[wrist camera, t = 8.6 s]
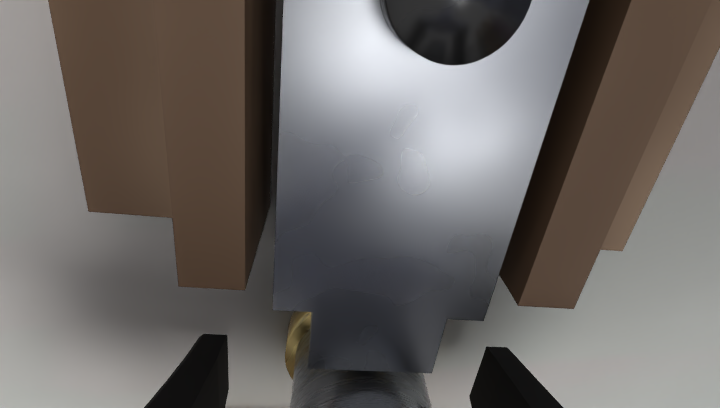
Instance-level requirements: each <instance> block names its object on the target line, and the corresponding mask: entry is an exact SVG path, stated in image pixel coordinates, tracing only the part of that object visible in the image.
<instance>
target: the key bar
mask: <svg viewBox="0 0 720 408" xmlns="http://www.w3.org/2000/svg"><path fill="white" fill-rule="evenodd" d="M588 3H589V0H284V4H283V32H282V60H281V88H280V116H279V143H278V171H277V199H276V227H275V255H274V283H273V310H283V311H302V312H311V323H310V338H309V354H308V369H329V370H357V371H384V372H411V373H432V371H433V367H434V364H435V360H436V356H437V353H438V349H439V346H440V342H441V338H442V335H443V331H444V328H445V324H446V320H447V319H456V320H476V321H484V318H485V315H486V312H487V309H488V306H489V303H490V300H491V297H492V294H493V291H494V288H495V285H496V282H497V279H498V276H499V272H500V269H501V266H502V263H503V260H504V257H505V254H506V251H507V248H508V245H509V242H510V239H511V236H512V233H513V230H514V227H515V224H516V221H517V218H518V215H519V212H520V209H521V206H522V203H523V200H524V197H525V194H526V191H527V188H528V185H529V182H530V179H531V176H532V173H533V170H534V167H535V164H536V161H537V157H538V154H539V151H540V148H541V145H542V142H543V139H544V136H545V133H546V130H547V127H548V124H549V121H550V118H551V115H552V112H553V109H554V106H555V103H556V100H557V97H558V94H559V91H560V88H561V85H562V82H563V79H564V76H565V73H566V70H567V67H568V64H569V61H570V58H571V55H572V52H573V49H574V46H575V42H576V39H577V36H578V33H579V30H580V27H581V24H582V21H583V18H584V15H585V12H586V9H587V6H588Z"/></svg>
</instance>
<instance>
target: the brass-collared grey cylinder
mask: <svg viewBox="0 0 720 408" xmlns="http://www.w3.org/2000/svg"><path fill="white" fill-rule="evenodd" d="M310 323H311V312H302V311H294V313H293V315H292V317H291V319H290V323H289V328H288V336H287V344H286V352H285V362H286V367H287V370H288V372H289V374H290V376H291V378H292V379H293V386H292V396H291V406H290V408H431V404H430V399H429V395H428V391H427V387H426V383H425V379H424V375H423V373H411V372H384V371H357V370H329V369H308V354H309V338H310Z"/></svg>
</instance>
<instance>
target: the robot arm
mask: <svg viewBox="0 0 720 408" xmlns="http://www.w3.org/2000/svg"><path fill="white" fill-rule="evenodd" d="M228 390H229V382H228V346H227V335H215V334H203V335H202V336H200V337H199V338H198V340H197V341H196V343H195V344H194V346H193V347H192V348H191V350H190V351H189V353H188V354H187V355H186V357H185V358H184V359H183V361H182V362H181V363H180V365H179V366H178V367H177V368H176V370H175V371H174V372H173V373H172V375H171V376H170V377H169V379H168V380H167V381H166V382H165V383H164V385H163V386H162V387H161V388H160V389H159V391H158V392H157V393H156V394H155V395H154V397H153V398H152V399H151V400H150V401H149V403H148V404H147V405H146V406H145V407H144V408H225V404H226V399H227V395H228ZM470 401H471V406H472V408H563V407H562V406H561V405H560V404H559V403H558V402H557V400H556V399H555V398H554V397H553V396H552V395H551V394H550V393H549V392H548V391H547V390H546V389H545V388H544V387H543V386H542V384H541V383H540V382H539V381H538V380H537V379H536V378H535V377H534V376H533V375H532V374H531V373H530V371H529V370H528V369H527V368H526V367H525V366H524V365H523V364H522V363H521V362H520V361H519V360H518V358H517V357H516V356H515V355H514V354H513V353H512V352H511V351H510V350H509V349H508V348H506V347H486V350H485V353H484V356H483V359H482V362H481V364H480V367H479V370H478V373H477V376H476V379H475V382H474V385H473V387H472V390H471V393H470Z"/></svg>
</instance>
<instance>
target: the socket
mask: <svg viewBox="0 0 720 408" xmlns="http://www.w3.org/2000/svg"><path fill="white" fill-rule="evenodd" d="M48 2H49V7H50V12H51V18H52V23H53V28H54V33H55V39H56V44H57V49H58V54H59V60H60V65H61V70H62V75H63V80H64V86H65V91H66V96H67V101H68V107H69V112H70V117H71V122H72V128H73V133H74V138H75V143H76V149H77V154H78V159H79V164H80V169H81V175H82V180H83V185H84V190H85V196H86V201H87V206H88V211H89V212H101V213H115V214H128V215H141V216H155V217H168V218H172V220H173V231H174V242H175V253H176V264H177V275H178V286H179V287H196V288H214V289H231V290H245V289H246V285H247V282H248V279H249V275H250V272H251V268H252V265H253V262H254V258H255V255H256V251H257V248H258V245H259V241H260V238H261V235H262V231H263V228H264V224H265V221H266V218H267V214H268V211H269V207H270V186H271V151H272V115H273V80H274V44H275V9H276V0H48ZM719 48H720V0H589V3H588V6H587V9H586V12H585V15H584V18H583V21H582V24H581V27H580V30H579V33H578V36H577V39H576V42H575V46H574V49H573V52H572V55H571V58H570V61H569V64H568V67H567V70H566V73H565V76H564V79H563V82H562V85H561V88H560V91H559V94H558V97H557V100H556V103H555V106H554V109H553V112H552V115H551V118H550V121H549V124H548V127H547V130H546V133H545V136H544V139H543V142H542V145H541V148H540V151H539V154H538V157H537V161H536V164H535V167H534V170H533V173H532V176H531V179H530V182H529V185H528V188H527V191H526V194H525V197H524V200H523V203H522V206H521V209H520V212H519V215H518V218H517V221H516V224H515V227H514V230H513V233H512V236H511V239H510V242H509V245H508V248H507V251H506V254H505V257H504V260H503V263H502V266H501V269H500V272H499V275H500V277H501V278H502V280H503V282H504V283H505V285H506V286H507V288H508V290H509V291H510V293H511V295H512V296H513V298H514V300H515V301H516V303H517V305H518V306H532V307H549V308H567V309H574V307H575V305H576V303H577V300H578V298H579V296H580V294H581V291H582V289H583V287H584V285H585V283H586V280H587V278H588V276H589V274H590V271H591V269H592V267H593V265H594V263H595V260H596V258H597V256H598V254H599V251H600V250H614V251H623V249H624V247H625V245H626V242H627V240H628V238H629V236H630V234H631V232H632V230H633V228H634V226H635V224H636V222H637V219H638V217H639V215H640V213H641V211H642V209H643V207H644V205H645V203H646V201H647V199H648V196H649V194H650V192H651V190H652V188H653V186H654V184H655V182H656V180H657V178H658V175H659V173H660V171H661V169H662V167H663V165H664V163H665V161H666V159H667V157H668V155H669V152H670V150H671V148H672V146H673V144H674V142H675V140H676V138H677V136H678V134H679V132H680V129H681V127H682V125H683V123H684V121H685V119H686V117H687V115H688V113H689V111H690V108H691V106H692V104H693V102H694V100H695V98H696V96H697V94H698V92H699V90H700V88H701V85H702V83H703V81H704V79H705V77H706V75H707V73H708V71H709V69H710V67H711V65H712V62H713V60H714V58H715V56H716V54H717V52H718V50H719Z"/></svg>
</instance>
